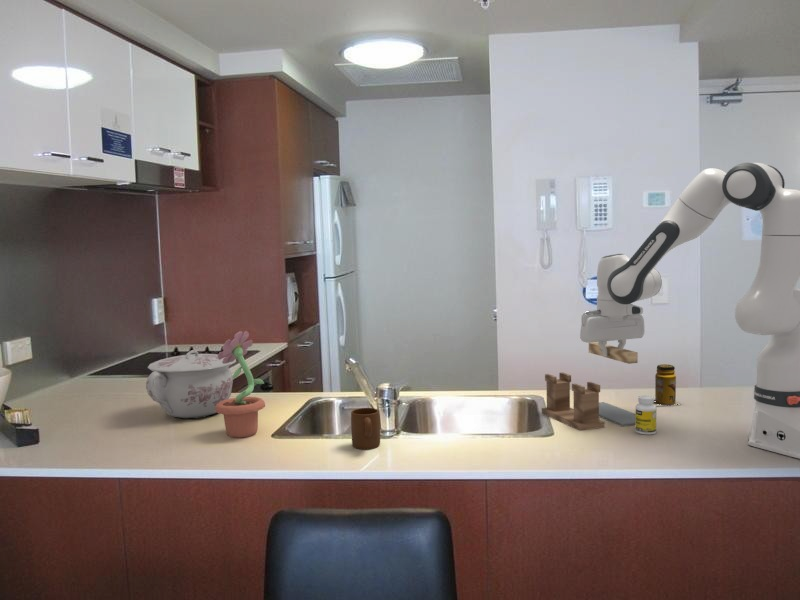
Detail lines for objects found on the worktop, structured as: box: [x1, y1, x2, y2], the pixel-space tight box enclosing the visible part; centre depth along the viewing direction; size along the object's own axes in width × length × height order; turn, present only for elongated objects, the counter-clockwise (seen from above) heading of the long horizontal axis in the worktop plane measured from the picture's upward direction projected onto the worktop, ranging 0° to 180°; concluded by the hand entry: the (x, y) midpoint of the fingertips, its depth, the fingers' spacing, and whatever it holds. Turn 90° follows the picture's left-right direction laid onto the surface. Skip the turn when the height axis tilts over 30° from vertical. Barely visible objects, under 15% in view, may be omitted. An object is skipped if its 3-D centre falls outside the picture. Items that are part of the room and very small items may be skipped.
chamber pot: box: [145, 349, 237, 420], centre depth 230 cm, size 28×28×21 cm
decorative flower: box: [215, 330, 266, 439], centre depth 204 cm, size 15×14×30 cm
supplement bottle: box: [634, 395, 657, 436], centre depth 195 cm, size 5×5×10 cm
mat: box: [599, 401, 636, 427], centre depth 214 cm, size 24×10×1 cm, turn 18°
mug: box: [350, 407, 381, 450], centre depth 188 cm, size 12×8×9 cm, turn 9°
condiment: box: [653, 364, 682, 407], centre depth 225 cm, size 7×8×12 cm
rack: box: [541, 371, 606, 431], centre depth 209 cm, size 21×8×12 cm, turn 18°
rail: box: [588, 342, 639, 365], centre depth 212 cm, size 20×3×3 cm, turn 18°
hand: (612, 355), depth 212 cm, fingers closed on rail, 3 cm apart
